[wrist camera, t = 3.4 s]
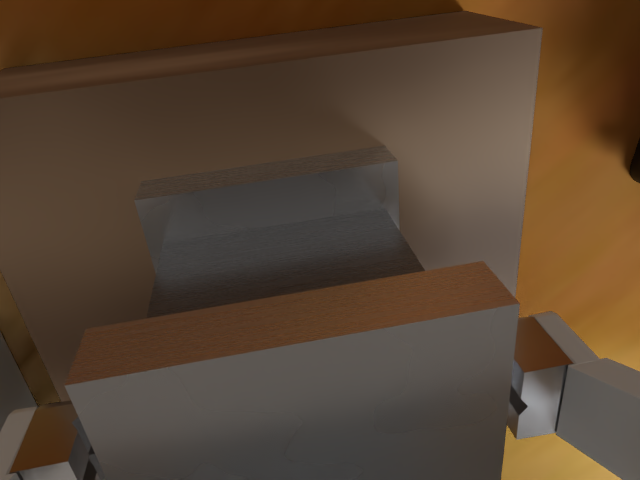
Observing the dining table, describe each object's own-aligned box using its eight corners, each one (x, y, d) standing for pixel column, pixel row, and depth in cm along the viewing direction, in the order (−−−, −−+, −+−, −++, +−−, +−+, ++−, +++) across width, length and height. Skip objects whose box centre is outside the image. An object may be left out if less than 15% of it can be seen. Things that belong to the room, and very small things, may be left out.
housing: (395, 409, 15) (482, 643, 10) (215, 443, 15) (210, 709, 10) (385, 145, 11) (519, 303, 6) (141, 181, 11) (64, 384, 6)
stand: (453, 351, 20) (501, 433, 17) (133, 411, 19) (112, 512, 15) (465, 10, 14) (542, 28, 11) (4, 68, 13) (-75, 108, 10)
